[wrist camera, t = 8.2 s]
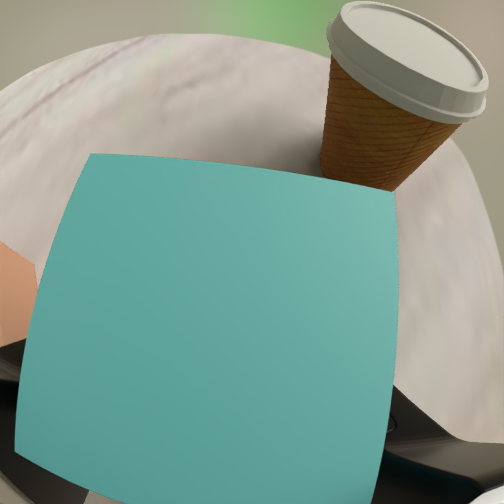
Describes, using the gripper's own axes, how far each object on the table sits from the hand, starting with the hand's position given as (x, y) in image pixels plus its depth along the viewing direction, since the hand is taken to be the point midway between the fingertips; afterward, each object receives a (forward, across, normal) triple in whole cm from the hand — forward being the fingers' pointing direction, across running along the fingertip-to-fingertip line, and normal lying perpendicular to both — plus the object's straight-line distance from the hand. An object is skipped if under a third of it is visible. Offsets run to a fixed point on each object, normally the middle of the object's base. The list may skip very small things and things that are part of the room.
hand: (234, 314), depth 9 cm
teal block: (+4, 0, +6) cm, 7 cm away
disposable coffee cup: (+16, -7, -3) cm, 18 cm away
